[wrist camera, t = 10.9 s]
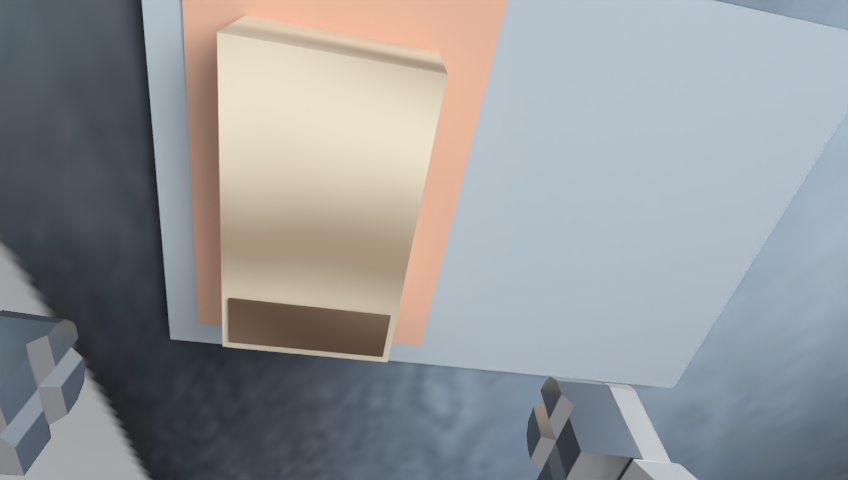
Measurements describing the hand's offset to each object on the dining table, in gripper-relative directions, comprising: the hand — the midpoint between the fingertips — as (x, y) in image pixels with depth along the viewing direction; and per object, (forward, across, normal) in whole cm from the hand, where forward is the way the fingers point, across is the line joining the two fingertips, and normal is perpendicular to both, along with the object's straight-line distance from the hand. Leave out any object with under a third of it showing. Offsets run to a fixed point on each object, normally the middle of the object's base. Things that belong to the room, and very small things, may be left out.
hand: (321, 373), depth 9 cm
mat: (+8, -4, 0) cm, 9 cm away
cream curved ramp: (+8, +1, 0) cm, 8 cm away
